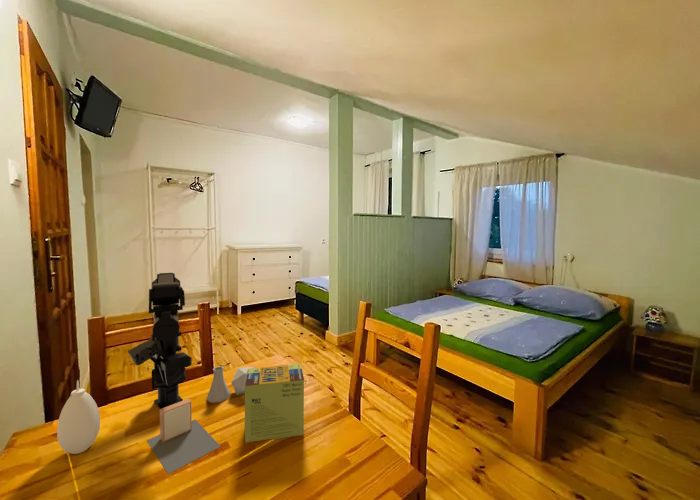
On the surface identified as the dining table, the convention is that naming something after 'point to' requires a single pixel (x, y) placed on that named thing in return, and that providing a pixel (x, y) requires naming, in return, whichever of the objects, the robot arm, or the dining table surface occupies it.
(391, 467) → the dining table surface
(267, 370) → the protein box
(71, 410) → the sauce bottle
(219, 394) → the flask
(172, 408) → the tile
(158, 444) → the mat
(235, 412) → the dining table surface
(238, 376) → the pale grey faceted chunk
